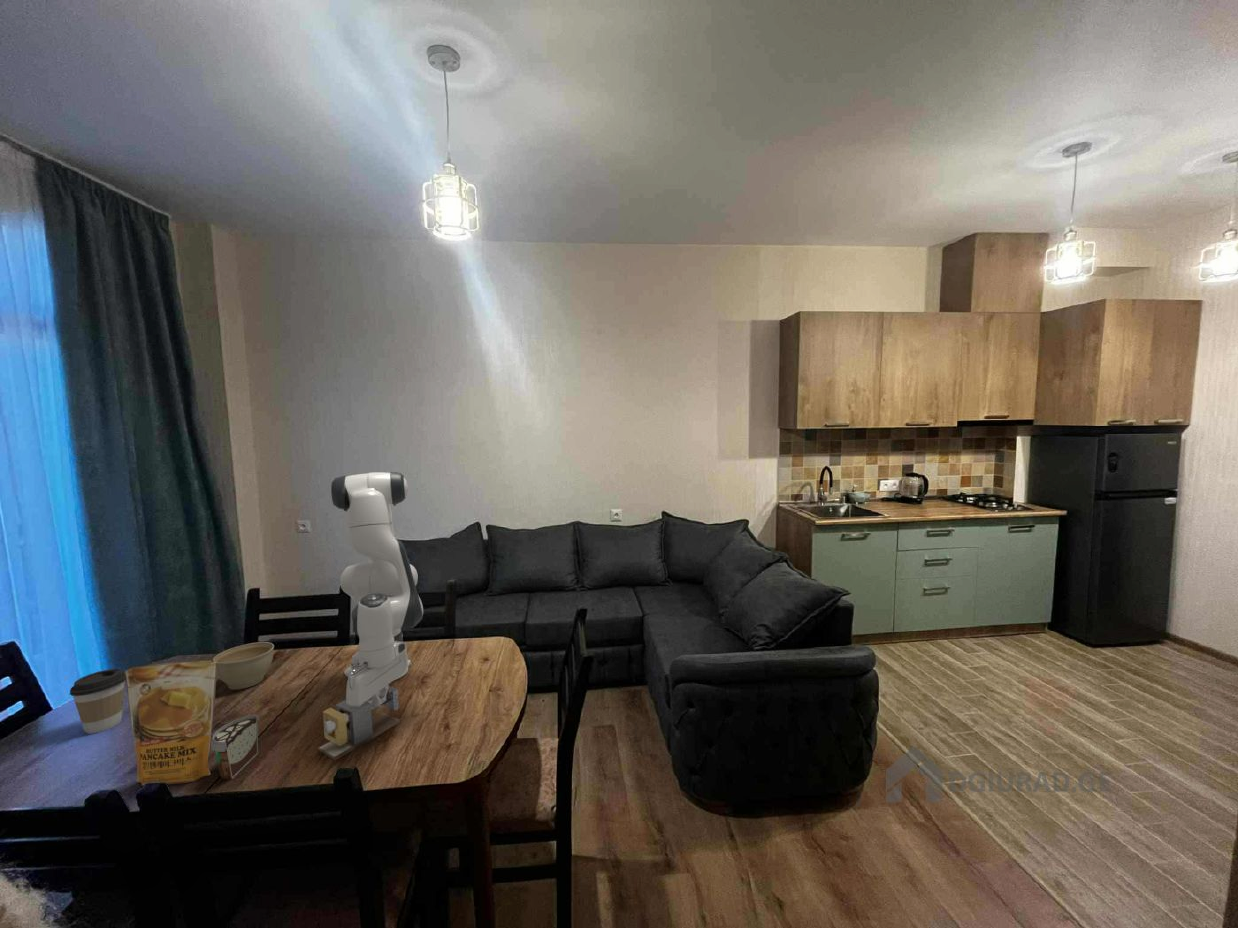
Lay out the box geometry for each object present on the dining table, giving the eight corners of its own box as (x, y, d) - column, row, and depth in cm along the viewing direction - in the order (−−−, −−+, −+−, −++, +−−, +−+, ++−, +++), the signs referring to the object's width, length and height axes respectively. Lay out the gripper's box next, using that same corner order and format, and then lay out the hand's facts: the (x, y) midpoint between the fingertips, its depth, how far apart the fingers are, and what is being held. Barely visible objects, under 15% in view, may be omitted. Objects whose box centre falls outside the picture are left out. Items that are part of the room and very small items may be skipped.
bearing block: (338, 739, 129) (335, 704, 128) (356, 729, 133) (353, 695, 132) (354, 748, 125) (352, 712, 124) (373, 738, 129) (370, 703, 128)
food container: (237, 751, 125) (233, 715, 125) (261, 749, 126) (258, 713, 125) (199, 785, 113) (196, 745, 112) (227, 783, 113) (223, 743, 113)
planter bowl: (275, 684, 159) (272, 653, 159) (212, 701, 150) (209, 668, 150) (277, 666, 173) (274, 637, 172) (219, 680, 164) (216, 649, 163)
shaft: (319, 733, 125) (317, 713, 124) (382, 700, 140) (380, 682, 139) (336, 743, 121) (334, 722, 120) (398, 708, 136) (397, 689, 135)
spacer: (324, 737, 125) (322, 711, 125) (332, 733, 127) (330, 707, 127) (339, 746, 122) (337, 719, 121) (347, 741, 123) (345, 715, 123)
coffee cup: (140, 718, 142) (135, 669, 141) (87, 741, 132) (82, 689, 131) (117, 712, 146) (112, 664, 145) (64, 734, 135) (59, 683, 134)
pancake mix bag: (147, 770, 119) (136, 661, 117) (228, 762, 121) (219, 655, 119) (121, 790, 112) (110, 675, 111) (208, 781, 114) (198, 668, 113)
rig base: (318, 750, 125) (318, 747, 124) (383, 714, 140) (382, 711, 140) (335, 760, 120) (335, 756, 120) (399, 722, 136) (399, 719, 136)
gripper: (359, 673, 120) (362, 727, 120) (410, 640, 140) (412, 686, 140) (337, 672, 121) (341, 725, 121) (391, 639, 141) (393, 684, 141)
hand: (379, 703), depth 131 cm, fingers closed
